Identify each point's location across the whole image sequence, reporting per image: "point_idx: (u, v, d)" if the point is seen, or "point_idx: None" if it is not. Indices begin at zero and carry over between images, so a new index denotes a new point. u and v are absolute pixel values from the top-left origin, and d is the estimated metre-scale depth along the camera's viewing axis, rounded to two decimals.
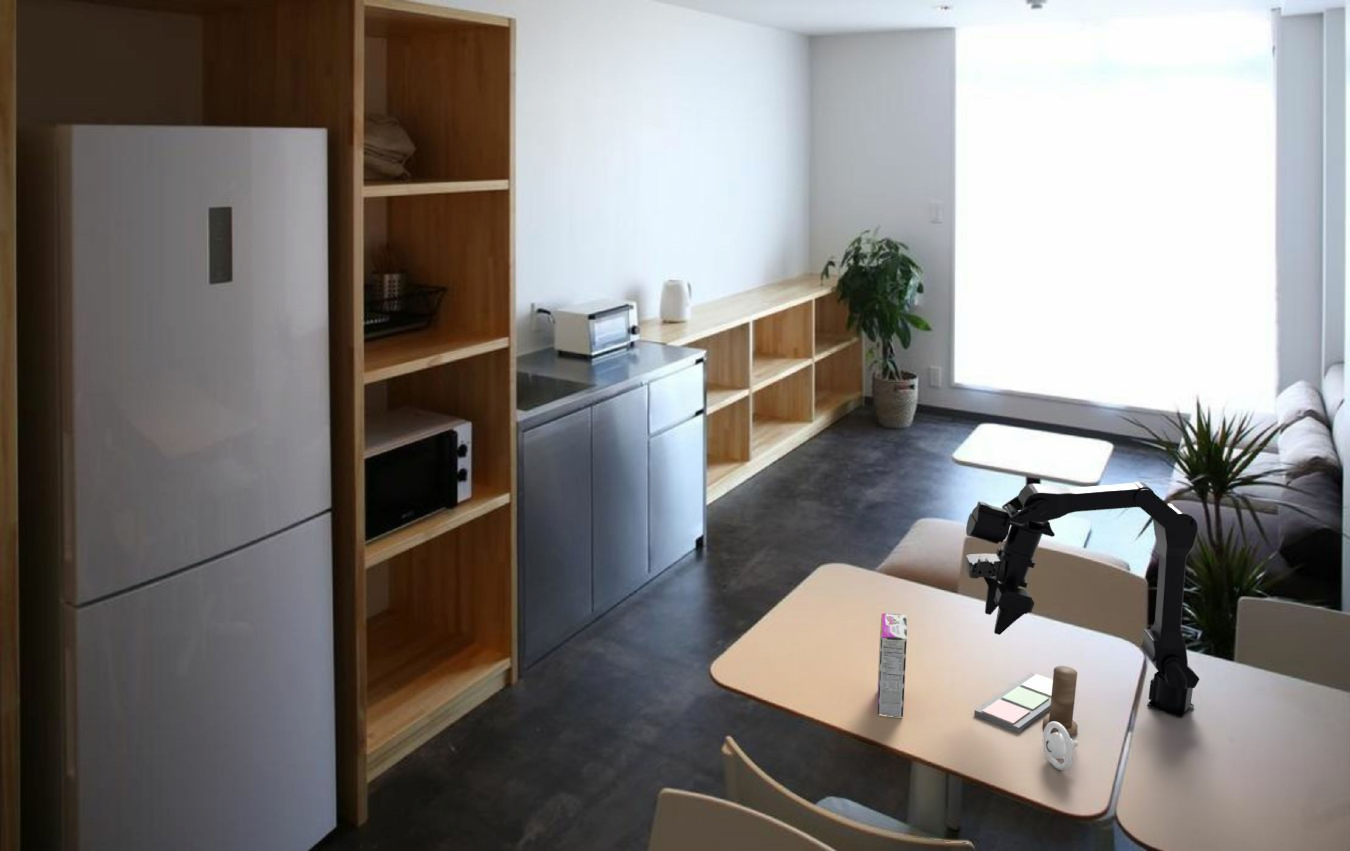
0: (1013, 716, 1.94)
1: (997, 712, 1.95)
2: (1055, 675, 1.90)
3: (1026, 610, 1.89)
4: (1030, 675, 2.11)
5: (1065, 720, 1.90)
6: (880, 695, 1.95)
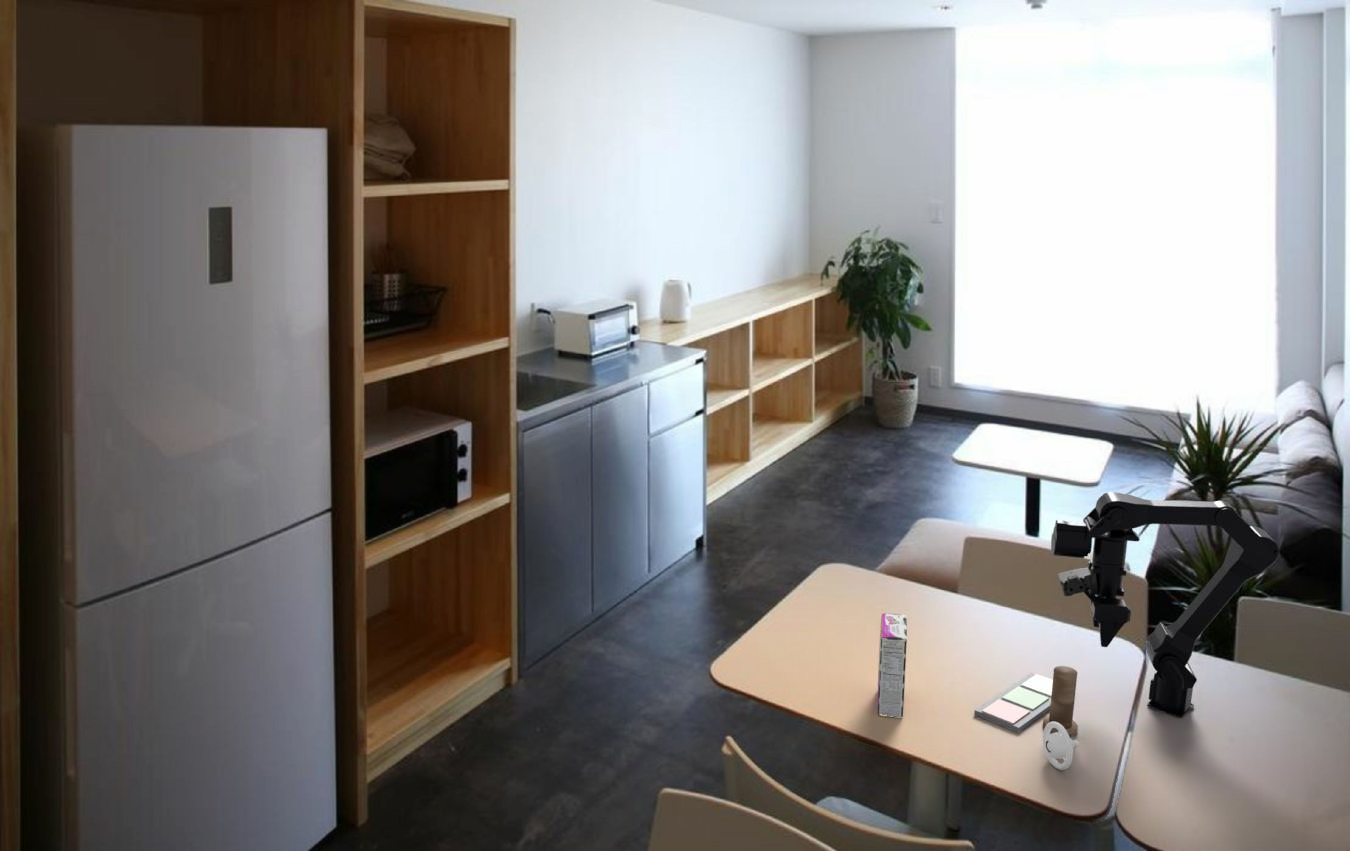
0: (1013, 716, 1.94)
1: (997, 712, 1.95)
2: (1055, 675, 1.90)
3: (1124, 620, 1.90)
4: (1030, 675, 2.11)
5: (1065, 720, 1.90)
6: (880, 695, 1.95)
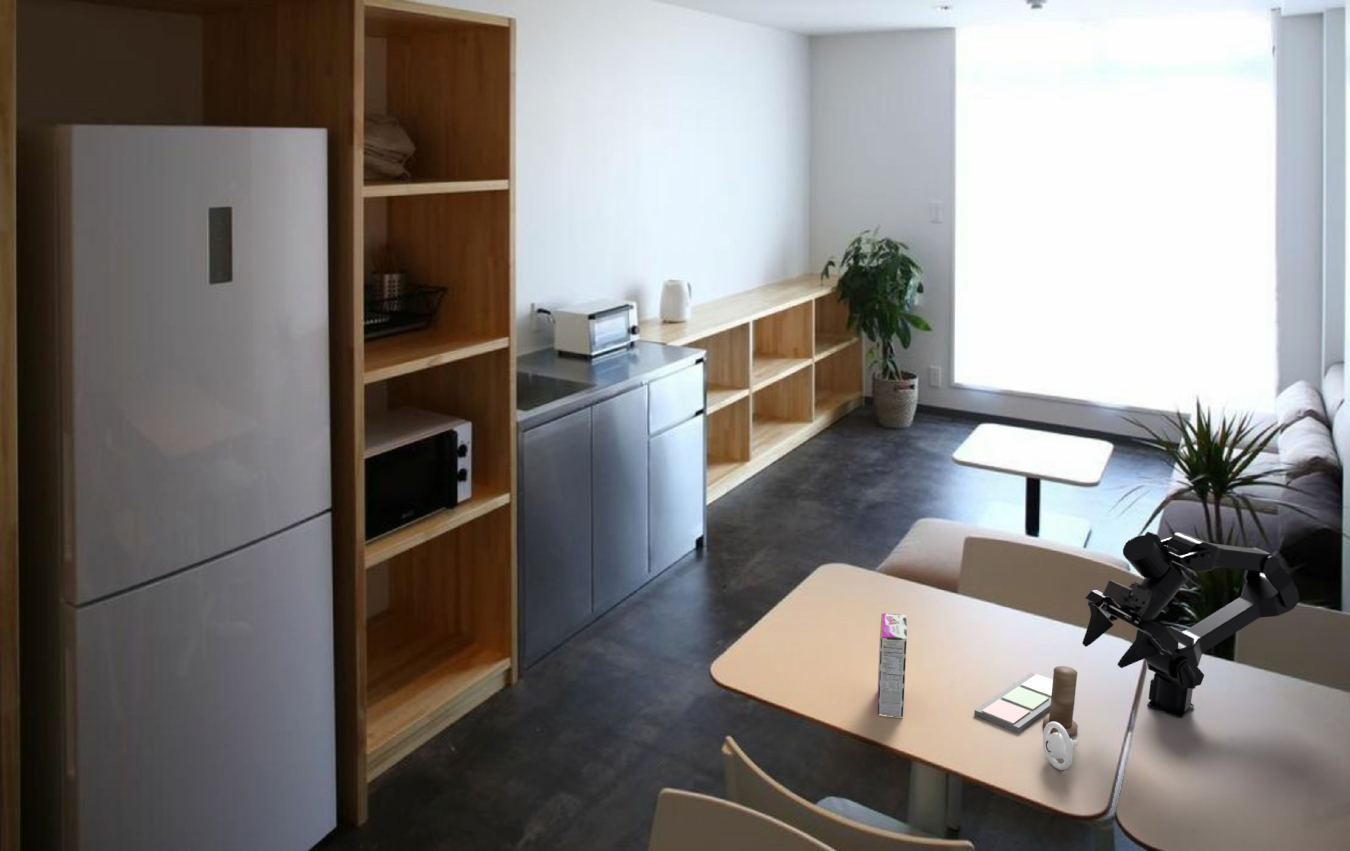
0: (1013, 716, 1.94)
1: (997, 712, 1.95)
2: (1055, 675, 1.90)
3: (1171, 651, 1.84)
4: (1030, 675, 2.11)
5: (1065, 720, 1.90)
6: (880, 695, 1.95)
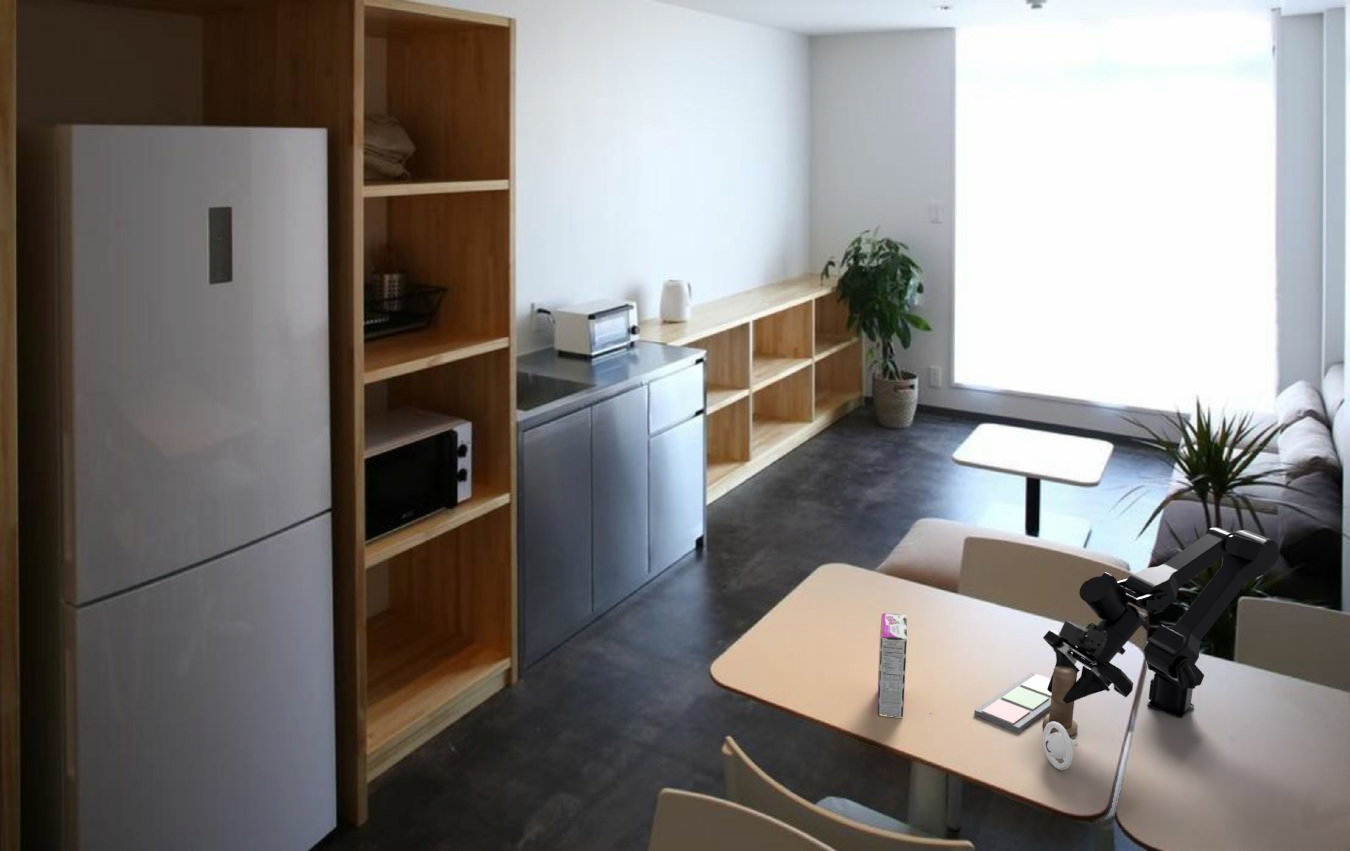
0: (1013, 716, 1.94)
1: (997, 712, 1.95)
2: (1055, 675, 1.90)
3: (1125, 694, 1.83)
4: (1030, 675, 2.11)
5: (1065, 720, 1.90)
6: (880, 695, 1.95)
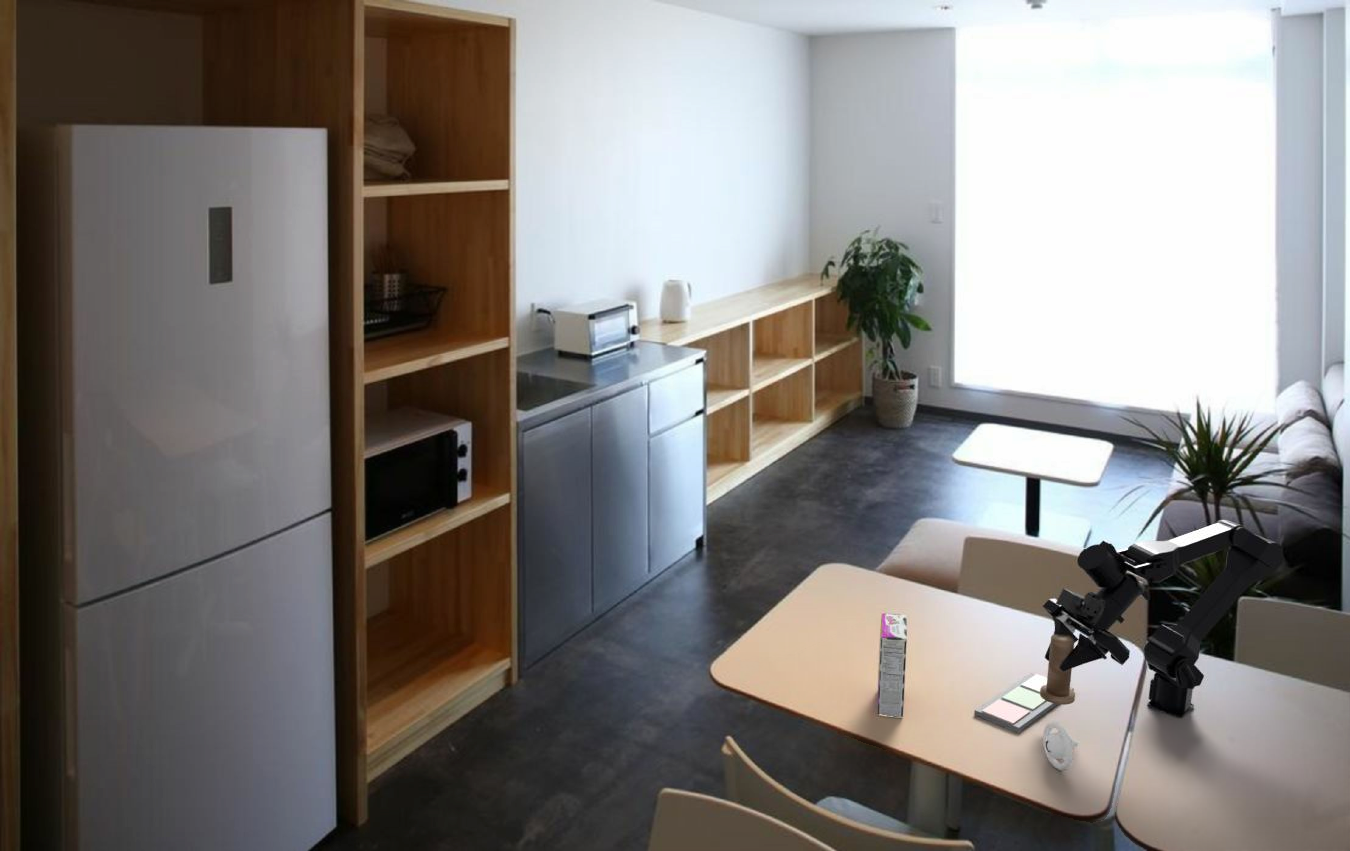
0: (1013, 716, 1.94)
1: (997, 712, 1.95)
2: (1052, 642, 1.90)
3: (1122, 661, 1.83)
4: (1030, 675, 2.11)
5: (1062, 688, 1.90)
6: (880, 695, 1.95)
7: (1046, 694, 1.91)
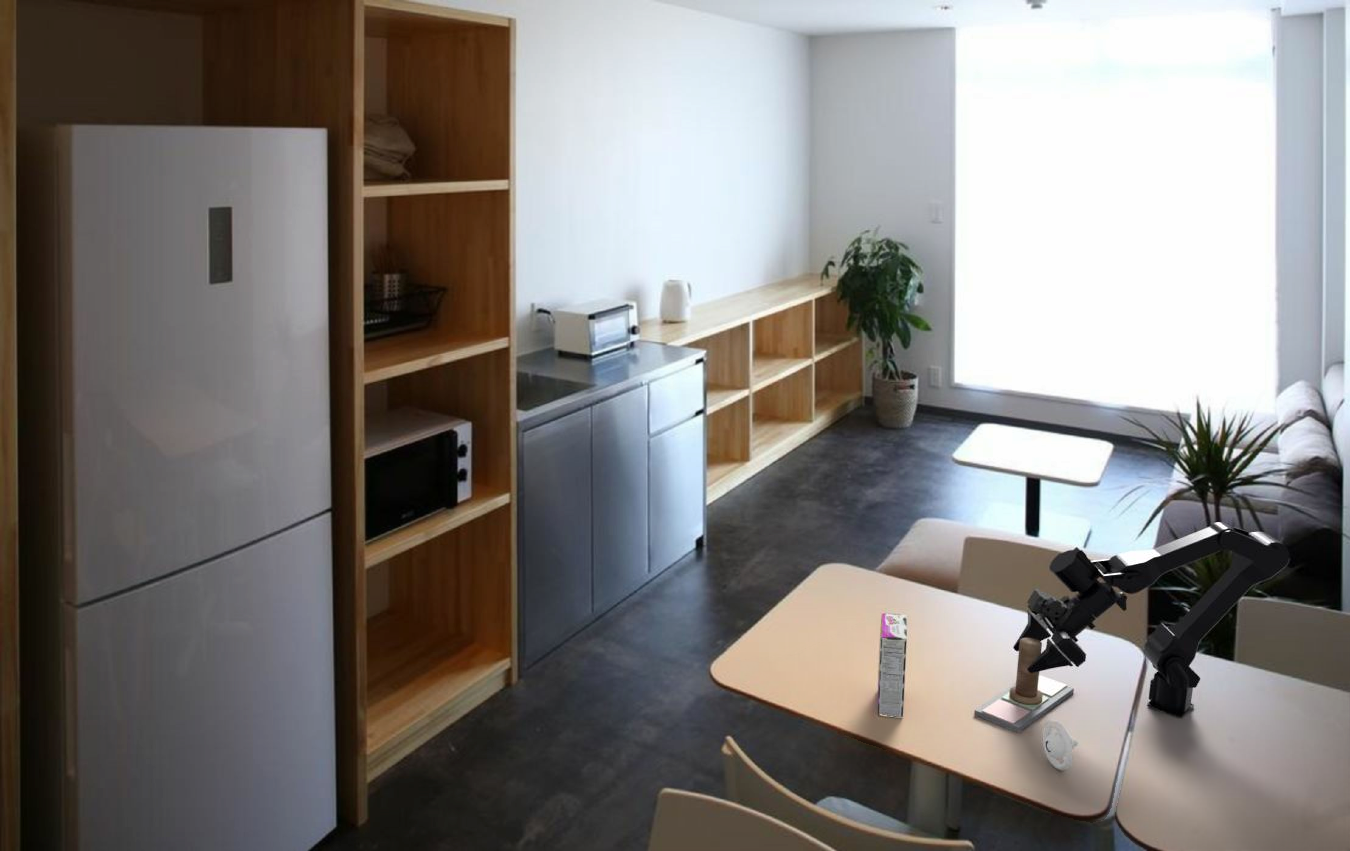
0: (1013, 716, 1.94)
1: (997, 712, 1.95)
2: (1019, 644, 1.99)
3: (1075, 663, 1.89)
4: None
5: (1026, 689, 1.99)
6: (880, 695, 1.95)
7: (1012, 693, 2.01)
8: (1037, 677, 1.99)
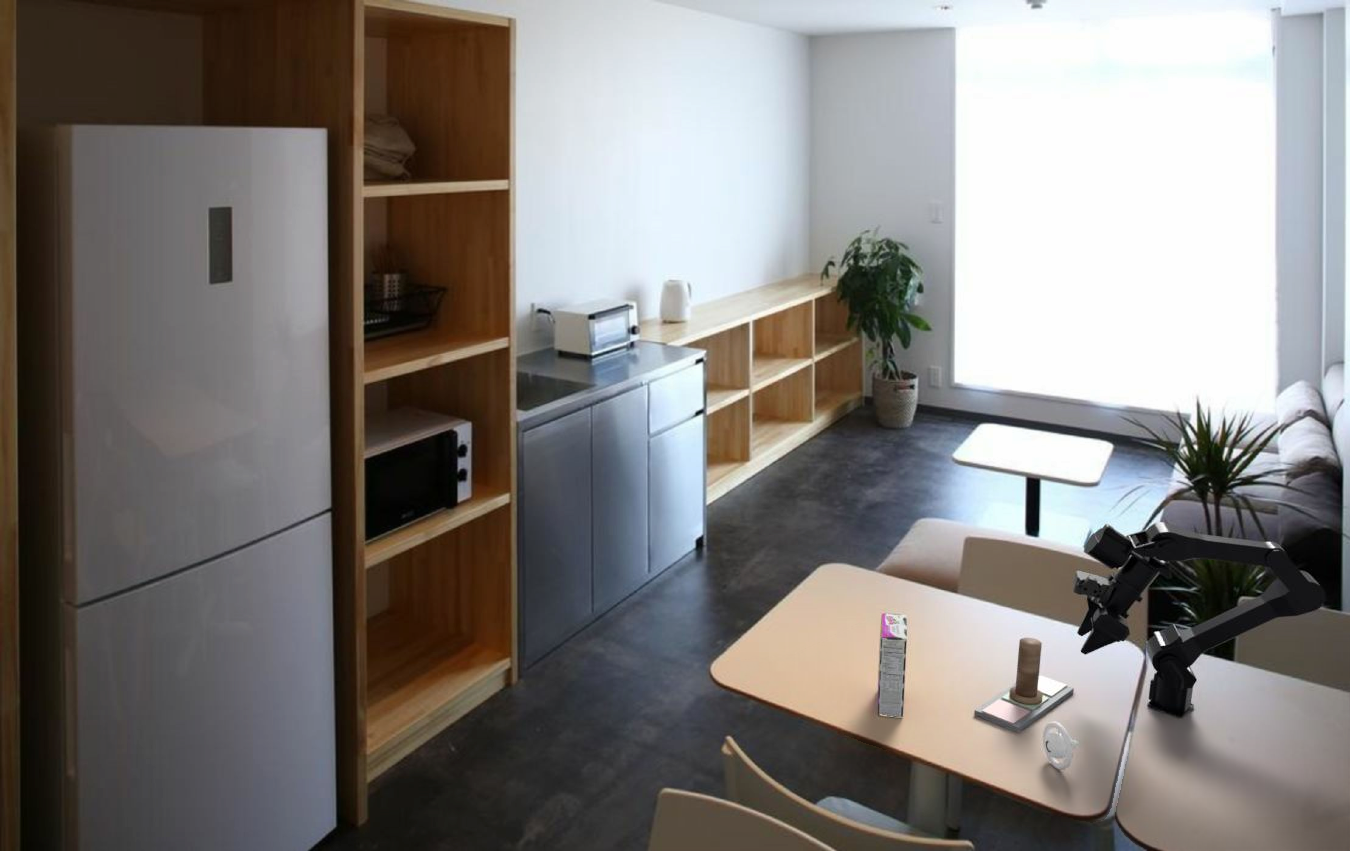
0: (1013, 716, 1.94)
1: (997, 712, 1.95)
2: (1019, 644, 1.99)
3: (1119, 638, 1.91)
4: None
5: (1026, 689, 1.99)
6: (880, 695, 1.95)
7: (1012, 693, 2.01)
8: (1037, 677, 1.99)
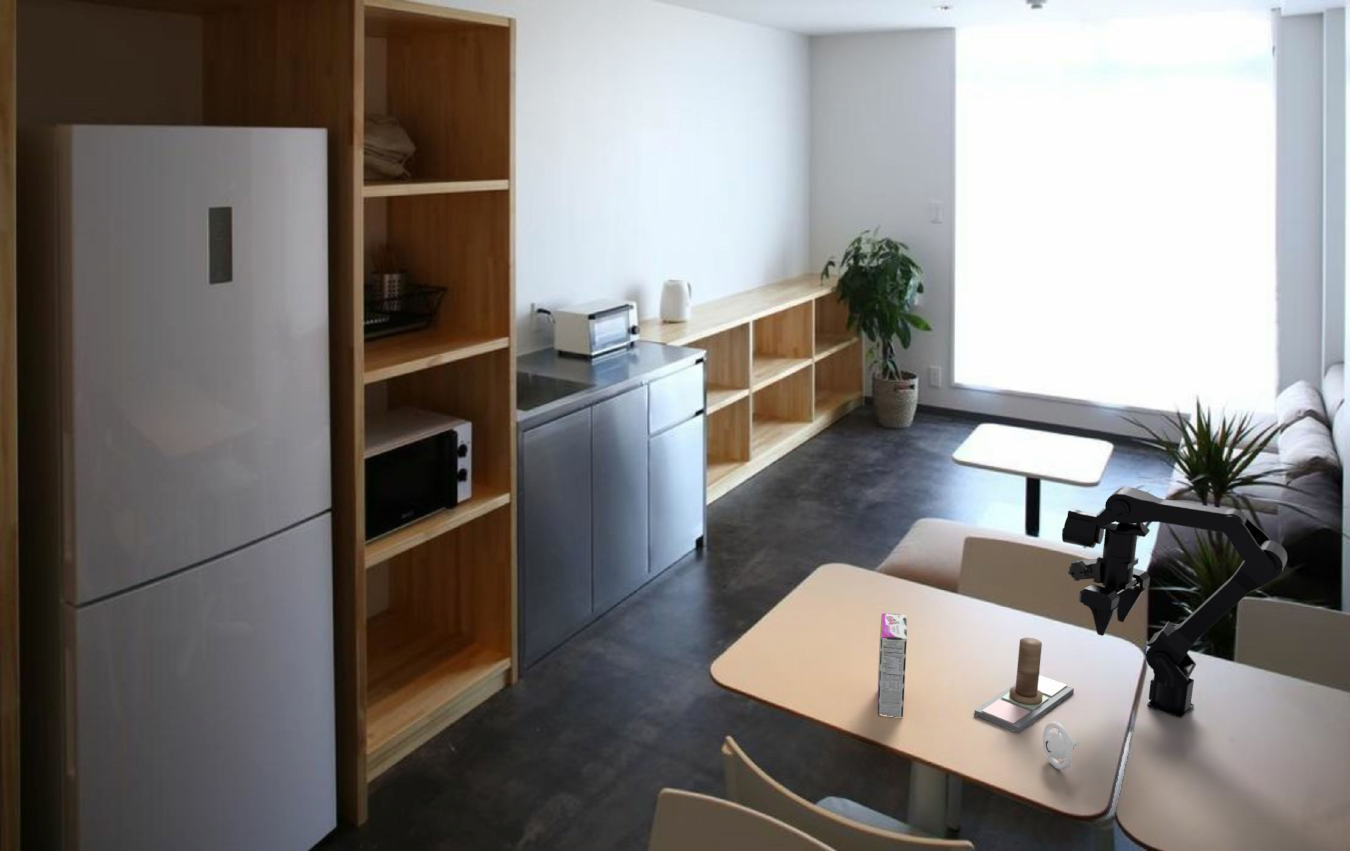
0: (1013, 716, 1.94)
1: (997, 712, 1.95)
2: (1019, 644, 1.99)
3: (1103, 607, 1.95)
4: None
5: (1026, 689, 1.99)
6: (880, 695, 1.95)
7: (1012, 693, 2.01)
8: (1037, 677, 1.99)
